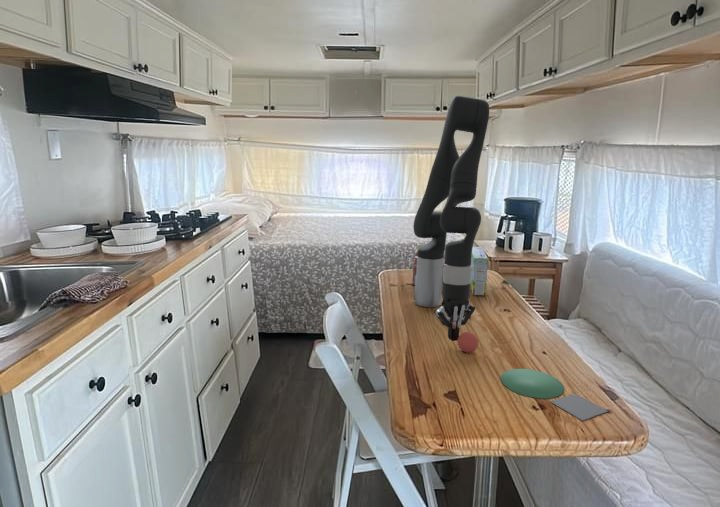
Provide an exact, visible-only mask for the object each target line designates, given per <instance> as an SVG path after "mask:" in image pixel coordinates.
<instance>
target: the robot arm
mask: <svg viewBox="0 0 720 507" xmlns="http://www.w3.org/2000/svg"><path fill="white" fill-rule="evenodd" d="M489 118H490V105H489V101H487V100H486V99H481V98H476V97H471V96H464V95H455V96H454V97H453V98H452V99H451V101H450V102H449V106H448V109H447V112H446V118H445V122H444V126H443V129H442V134H441V138H440V143H439V145H438V149H437V152H436V155H435V158H434V161H433V163H432V167H431V170H430V174H429V176H428V181H427V185H426V187H425V192H424V194H423V196H422V200H421V201H420V204H419V207H418V209H417V211H416V214H415V216H414V220H413V227H412V228H413V233H414V235H415V236H416V237H417V238H420V239H431V240H430V241H429V242H427V243H428V244H427V243H426V244H425V245H422V246H419V247H420V248H419V247H418V248H417V249H418V251H417V271H416V276H415V286H414V289H413V290H414V291H413V301H414V300H415V301H414V304H416V305H418V306H420V307H423V308H424V307H425V308H434V307H439V306H440V307H439V308H438V309H434V310H433V313H434V315H435V316H436V318H437V319H438V320H439V322H440V323H441V325H442V326H445V327H446V328H448V329H447V338H448V339H449V341H451V342H458V338H459V336H460V328H461V327H462V326H465V325H466V324H467V322H468V321H469V320H470V318H471V317H472V315H473V314H474V312H475V311H476V306H474V305H471V304H470V300H469V298H470V297H471V288H470V286H471V257H472V248H473V247H474V242H475V239H476V236H477V235H478V232H479V228H480V225H481V223H482V214H481V212H480V210H479V209H477V208H476V207H472V206H469V207H468V206H458V205H459V204H462V203H467V202H471V201H473V200H474V199H476V195H477V187H478V186H477V185H478V176H479V175H478V172H479V167H480V166H479V164H480V161H481V157H482V152H483V148H484V144H485V138H486V133H487V130H488V125H489ZM457 131H460V132H464V133H465V132H466V133H472V135H473V136H472V137H471V138H472V139H471V141H470V144H468V146H467V147H466V149H465V150H464V151H463V152H462V154H460V155H459V152H458V149H457V146H456V141H455V133H456V132H457ZM445 200H446V202H445V205H444V206H443V209H442V211H440V210H439V211H437V210H436V208H437V207H439V205H441V204H442V203H443V202H444V201H445ZM448 233H449V234H465V237H464V238H463V239H460V240H455V241H449V242H447V234H448ZM446 242H447V243H446ZM444 257H445V259H444V261H443V258H444ZM443 263H444V270H443ZM442 276H443V284H442Z"/></svg>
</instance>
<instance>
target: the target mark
mask: <svg viewBox="0 0 720 507" xmlns="http://www.w3.org/2000/svg"><path fill="white" fill-rule="evenodd" d="M500 381H501V383H502V384H503V386H504V387H506V389H508V390H510V391H512V392H514V393H516V394H518V395H521V396H524V395H525V396H524V397H527V396H529V397H528V398H532V397H534V398H533V399H544V400H545V399H546V400H547V399H554V398H558V397H560V396H561V395H562V394H564V390H565V386H564V384H563V383H562V382H561V381H560V380H559V379H557V378H556V377H554V376H553V375H551V374H549V373H546V372H542V371H539V370H536V369H530V368H514V369H513V368H512V369H509V370H506V371H504V372H503V373H502V374H501V376H500Z"/></svg>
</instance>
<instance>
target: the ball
mask: <svg viewBox="0 0 720 507" xmlns="http://www.w3.org/2000/svg"><path fill="white" fill-rule="evenodd" d="M457 345H458V348H459V350H461V352H464V353H472V352H473V353H474V351H476V350H477V348H478V346H479V339H478V337H477V335H476V334H474V333H473V332H470V331H465V332H462V333H461V334H459V338H458V340H457Z"/></svg>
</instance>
